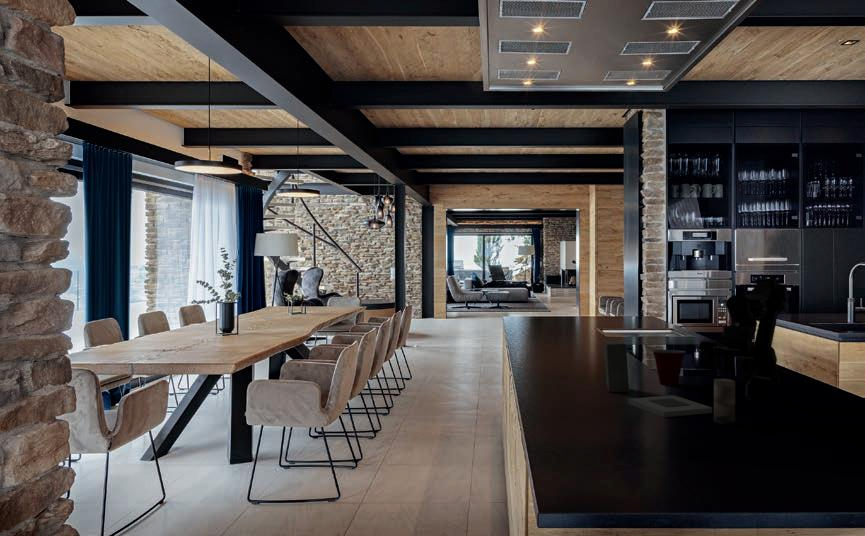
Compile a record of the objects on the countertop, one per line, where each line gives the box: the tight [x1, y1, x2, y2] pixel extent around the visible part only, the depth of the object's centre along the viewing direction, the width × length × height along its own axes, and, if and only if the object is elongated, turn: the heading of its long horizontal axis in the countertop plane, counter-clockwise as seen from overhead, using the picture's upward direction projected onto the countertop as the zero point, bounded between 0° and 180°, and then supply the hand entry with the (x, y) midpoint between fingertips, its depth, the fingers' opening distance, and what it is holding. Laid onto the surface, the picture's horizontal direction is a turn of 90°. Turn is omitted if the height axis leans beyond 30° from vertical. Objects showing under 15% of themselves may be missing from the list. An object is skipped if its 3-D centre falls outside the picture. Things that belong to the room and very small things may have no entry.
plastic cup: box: [651, 349, 686, 387], centre depth 203 cm, size 11×11×12 cm
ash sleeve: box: [713, 378, 736, 426], centre depth 155 cm, size 5×5×11 cm
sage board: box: [627, 394, 713, 418], centre depth 170 cm, size 16×16×2 cm
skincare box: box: [604, 341, 630, 393], centre depth 194 cm, size 8×7×16 cm
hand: (729, 378), depth 158 cm, fingers open, 9 cm apart
